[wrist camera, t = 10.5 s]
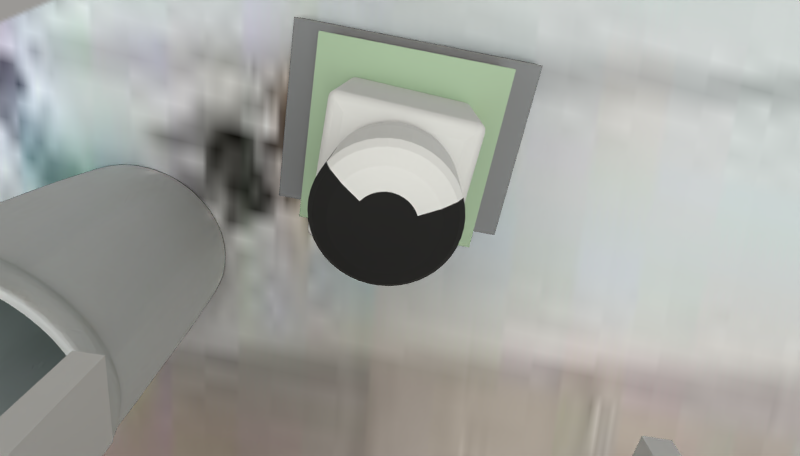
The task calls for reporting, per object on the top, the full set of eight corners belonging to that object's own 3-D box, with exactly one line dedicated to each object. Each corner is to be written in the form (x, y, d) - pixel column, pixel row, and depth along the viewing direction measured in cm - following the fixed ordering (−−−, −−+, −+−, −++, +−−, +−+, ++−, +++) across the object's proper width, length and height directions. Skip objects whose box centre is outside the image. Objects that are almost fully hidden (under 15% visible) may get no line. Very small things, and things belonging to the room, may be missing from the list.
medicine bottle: (441, 215, 30) (453, 323, 19) (330, 191, 29) (277, 286, 18) (471, 103, 27) (508, 151, 16) (350, 75, 27) (301, 104, 16)
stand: (286, 186, 36) (261, 215, 30) (301, 17, 31) (276, 14, 26) (490, 224, 36) (503, 259, 31) (535, 63, 32) (560, 70, 26)
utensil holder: (128, 112, 34) (-135, 184, 18) (273, 256, 38) (165, 420, 22) (17, 229, 38) (-280, 373, 22) (159, 347, 42) (-3, 543, 26)
